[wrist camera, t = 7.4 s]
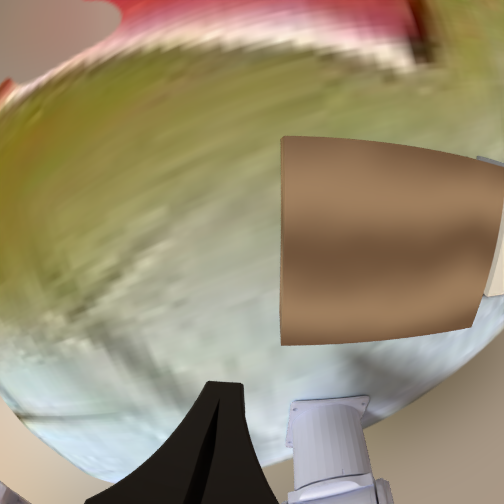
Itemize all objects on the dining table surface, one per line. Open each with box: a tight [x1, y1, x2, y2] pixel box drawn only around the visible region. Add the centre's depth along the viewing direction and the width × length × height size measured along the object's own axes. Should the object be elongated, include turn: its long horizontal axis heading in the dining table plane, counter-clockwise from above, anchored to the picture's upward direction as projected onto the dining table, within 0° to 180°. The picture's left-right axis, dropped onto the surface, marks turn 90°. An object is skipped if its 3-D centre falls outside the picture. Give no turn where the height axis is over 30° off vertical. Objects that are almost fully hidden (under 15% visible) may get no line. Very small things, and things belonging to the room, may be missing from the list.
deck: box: [279, 136, 504, 346], centre depth 16 cm, size 12×15×4 cm
